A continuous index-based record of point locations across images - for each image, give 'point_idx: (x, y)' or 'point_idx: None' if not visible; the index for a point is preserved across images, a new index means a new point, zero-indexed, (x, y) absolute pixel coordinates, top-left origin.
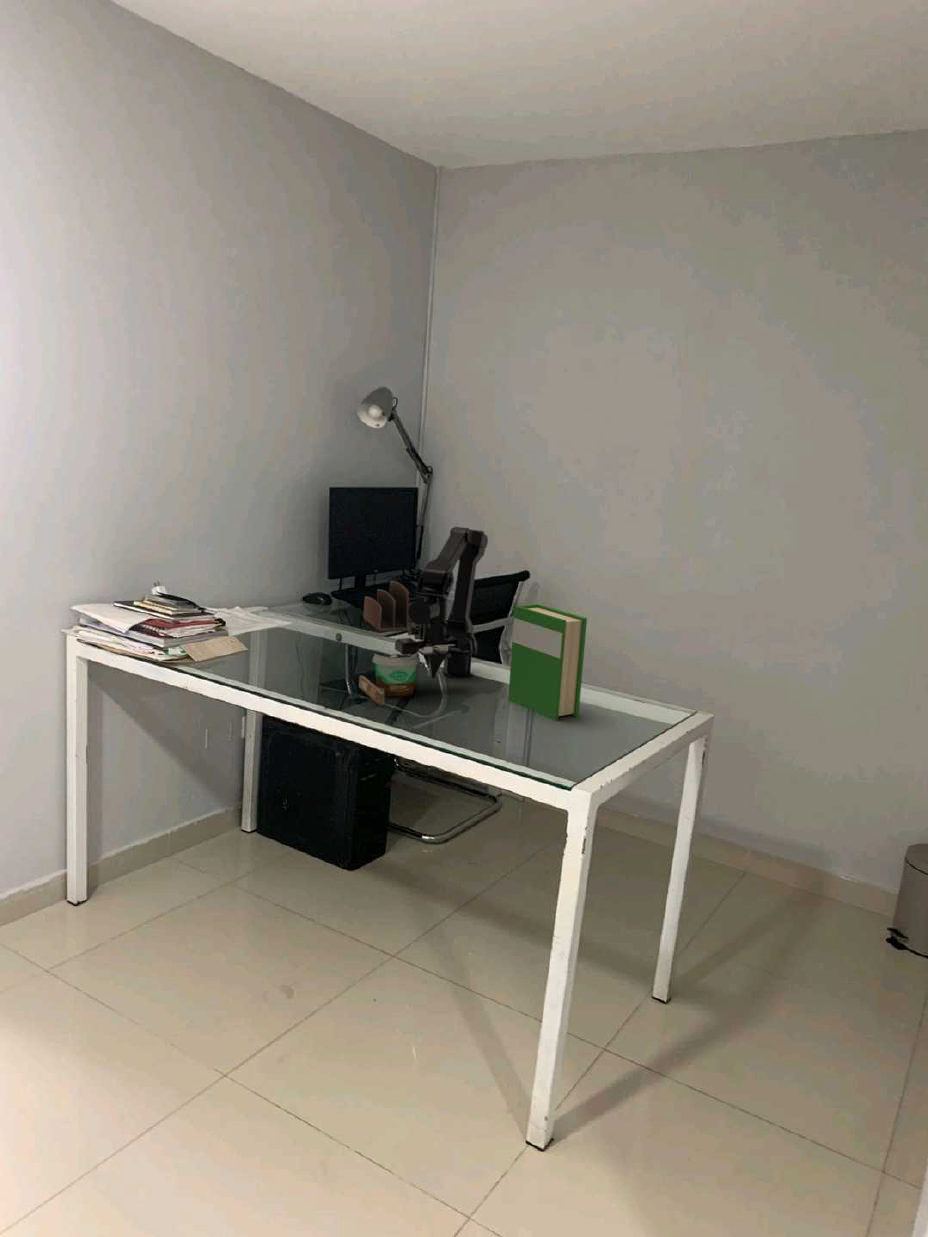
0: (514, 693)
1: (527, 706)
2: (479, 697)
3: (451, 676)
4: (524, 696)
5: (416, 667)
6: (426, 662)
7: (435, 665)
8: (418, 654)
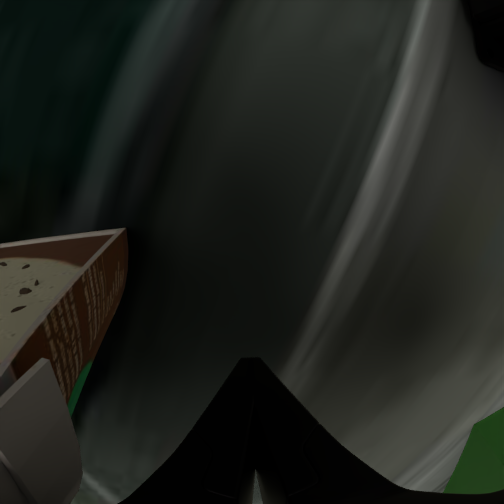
0: (480, 461)
1: (454, 477)
2: (424, 406)
3: (482, 57)
4: (468, 486)
5: (71, 408)
6: (179, 457)
7: (263, 499)
8: (28, 494)
